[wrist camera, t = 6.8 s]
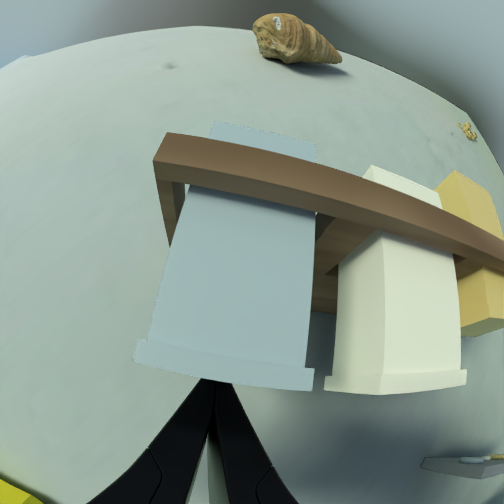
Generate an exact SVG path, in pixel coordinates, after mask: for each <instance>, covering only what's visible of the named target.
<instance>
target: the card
mask: <svg viewBox="0 0 504 504" xmlns="http://www.w3.org/2000/svg"><path fill="white" fill-rule="evenodd" d="M421 468H424V469H428V470H432V471H436V472H441V473H446V474H451V475H456V476H461V477H467V478H474V479H484V478H488V477H492V476H495V475H499V474H502V473H504V454H495V455H489V456H483V457H479V456H472V457H454V458H424V461H423V463H422V466H421Z"/></svg>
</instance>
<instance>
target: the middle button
mask: <svg viewBox="0 0 504 504" xmlns="http://www.w3.org/2000/svg"><path fill="white" fill-rule="evenodd" d="M362 178H365V179H367V180H370V181H373V182H376V183H379V184H381V185H384V186H387V187H389V188H392V189H395V190H397V191H400V192H402V193H405V194H407V195H410V196H412V197H415V198H417V199H420V200H422V201H424V202H427V203H429V204H431V205H434V206H436V207H438V208H440V209H442V205H441V201H440V198H439V194H438V193H437V192H435V191H433V190H430V189H428V188H426V187H424V186H422V185H420V184H417V183H415V182H413V181H410V180H408V179H406V178H403V177H401V176H399V175H396V174H394V173H391V172H389V171H386V170H384V169H381V168H379V167H376V166H373V165H371V166H370V168H369V169H368V170H367V172H366V173H365V174H364V176H363V177H362ZM442 210H443V209H442ZM460 366H461V329H460V311H459V299H458V289H457V280H456V273H455V266H454V260H453V254H452V253H451V252H448V251H445V250H442V249H439V248H436V247H433V246H430V245H427V244H424V243H421V242H418V241H415V240H412V239H409V238H406V237H402V236H399V235H396V234H393V233H389V232H386V231H383V230H379V229H376V230H375V231H374V232H373V233H372V234H371V235H370V236H369V237H368V238H366V239H365V240H364V241H363V242H362V243H361V244H360V245H359V246H357V247H356V248H355V249H354V250H353V251H352V252H351V253H349V254H348V255H347V256H346V257H345V258H344V259H343V260H341V261H340V262H339V269H338V302H337V322H336V336H335V349H334V360H333V370H332V376H325V383H324V390H327V391H336V392H346V393H357V394H371V395H387V394H401V393H412V392H421V391H429V390H436V389H443V388H449V387H455V386H461V385H466V376H467V369H463V370H460Z"/></svg>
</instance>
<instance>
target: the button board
mask: <svg viewBox="0 0 504 504" xmlns="http://www.w3.org/2000/svg"><path fill="white" fill-rule="evenodd" d="M153 166H154V172H155V178H156V183H157V189H158V194H159V199H160V204H161V209H162V214H163V219H164V224H165V228H166V233H167V237H168V242H169V246H171V243H172V240H173V236H174V233H175V230H176V226H177V223H178V220H179V217H180V214H181V211H182V208H183V205H184V202H185V184H190V185H195V186H200V187H206V188H211V189H216V190H221V191H226V192H231V193H236V194H240V195H245V196H250V197H254V198H259V199H263V200H268V201H272V202H276V203H281V204H285V205H289V206H293V207H297V208H302V209H306V210H310V211H314V212H317V214H316V216H315V244H314V265H313V282H312V296H311V309H310V311H317V312H324V313H331V314H337V302H338V269H339V262H340V261H341V260H343V259H344V258H345V257H346V256H347V255H348V254H349V253H351V252H352V251H353V250H354V249H355V248H356V247H357V246H359V245H360V244H361V243H362V242H363V241H364V240H365V239H366V238H368V237H369V236H370V235H371V234H372V233H373V232H374V231H375V230H376V229H379V230H383V231H386V232H389V233H393V234H396V235H399V236H402V237H406V238H409V239H412V240H415V241H418V242H421V243H424V244H427V245H430V246H433V247H436V248H439V249H442V250H445V251H448V252H451V253H452V254H453V260H454V266H455V273H456V279H458V278H460V277H462V276H464V275H466V274H468V273H469V272H471V271H473V270H475V269H477V268H479V267H480V266H482V265H487V266H489V267H492V268H494V269H497V270H500V271H502V272H504V241H503V240H501V239H500V238H498V237H496V236H494V235H492V234H491V233H489V232H487V231H485V230H483V229H481V228H479V227H477V226H476V225H474V224H472V223H470V222H468V221H466V220H464V219H462V218H460V217H457V216H455V215H453V214H451V213H449V212H447V211H445V210H442V209H440V208H438V207H436V206H434V205H431V204H429V203H427V202H424V201H422V200H420V199H417V198H415V197H412V196H410V195H407V194H405V193H402V192H400V191H397V190H395V189H392V188H389V187H387V186H384V185H381V184H379V183H376V182H373V181H370V180H367V179H365V178H362V177H359V176H356V175H353V174H350V173H347V172H343V171H340V170H337V169H334V168H331V167H327V166H324V165H321V164H317V163H314V162H310V161H307V160H303V159H299V158H296V157H292V156H288V155H284V154H280V153H276V152H272V151H268V150H263V149H259V148H254V147H250V146H245V145H240V144H235V143H230V142H225V141H220V140H214V139H209V138H203V137H197V136H190V135H184V134H176V133H169V132H167V133H166V135H165V137H164V139H163V141H162V143H161V145H160V147H159V149H158V151H157V153H156V155H155V157H154V159H153Z"/></svg>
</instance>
